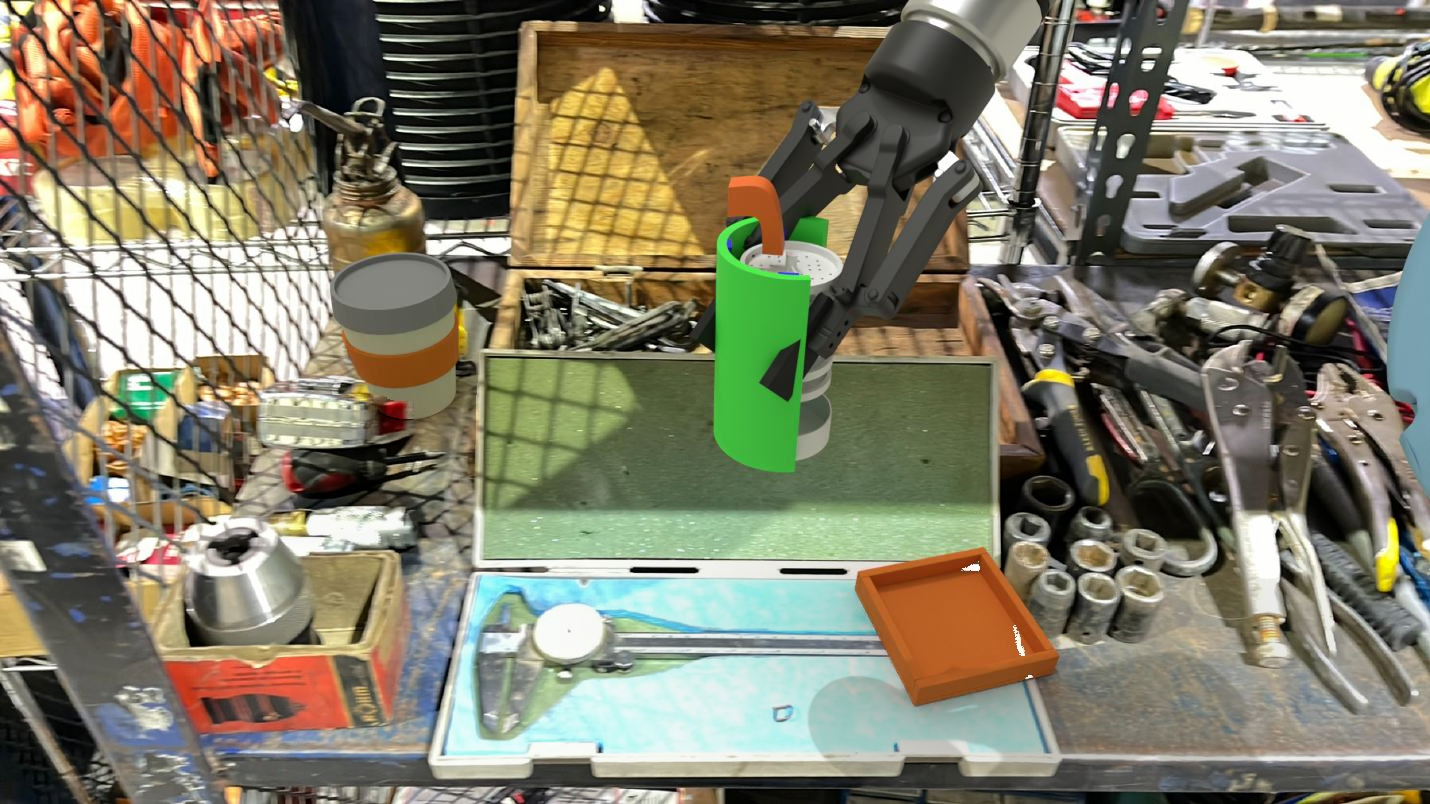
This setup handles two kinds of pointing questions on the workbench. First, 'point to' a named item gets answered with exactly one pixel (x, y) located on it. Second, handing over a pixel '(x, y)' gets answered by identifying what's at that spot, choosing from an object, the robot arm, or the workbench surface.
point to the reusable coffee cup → (400, 327)
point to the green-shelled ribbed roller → (769, 331)
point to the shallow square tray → (953, 625)
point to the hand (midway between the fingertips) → (737, 367)
